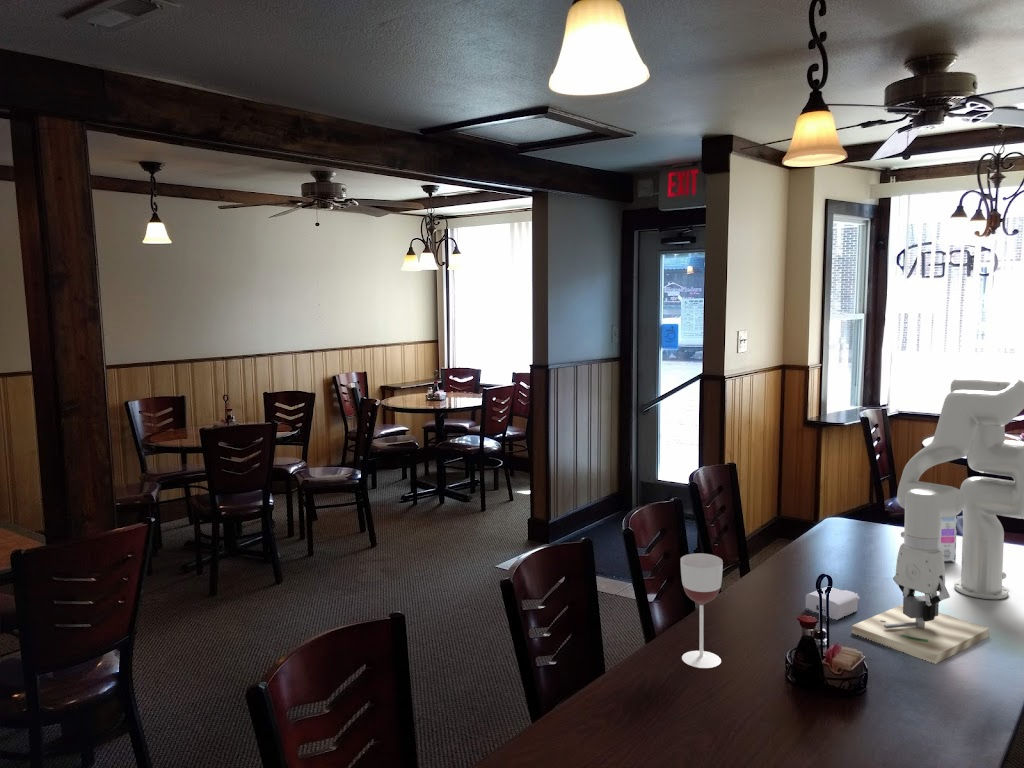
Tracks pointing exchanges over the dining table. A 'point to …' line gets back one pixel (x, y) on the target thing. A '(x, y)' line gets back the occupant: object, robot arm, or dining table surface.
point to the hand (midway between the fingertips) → (919, 615)
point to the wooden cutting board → (922, 634)
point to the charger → (834, 602)
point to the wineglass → (701, 598)
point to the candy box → (948, 538)
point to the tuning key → (913, 612)
